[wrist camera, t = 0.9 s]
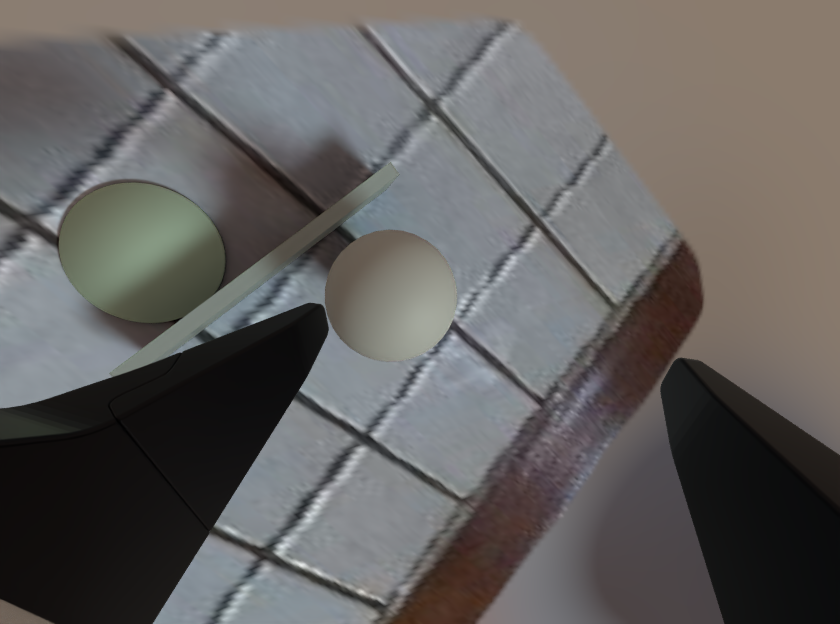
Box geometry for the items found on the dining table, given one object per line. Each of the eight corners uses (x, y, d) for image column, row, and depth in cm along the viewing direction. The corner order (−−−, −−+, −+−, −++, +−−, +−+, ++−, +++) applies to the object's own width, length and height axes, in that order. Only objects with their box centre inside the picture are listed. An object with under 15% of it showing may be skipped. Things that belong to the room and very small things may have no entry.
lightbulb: (321, 242, 22) (315, 224, 11) (410, 239, 23) (478, 221, 13) (329, 332, 23) (332, 392, 12) (414, 323, 24) (481, 369, 14)
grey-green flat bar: (161, 361, 20) (122, 384, 16) (150, 352, 20) (109, 373, 16) (386, 189, 22) (399, 174, 19) (379, 179, 22) (390, 161, 18)
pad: (146, 348, 20) (143, 350, 20) (23, 240, 18) (18, 240, 17) (254, 267, 21) (254, 267, 21) (151, 155, 19) (149, 153, 18)
